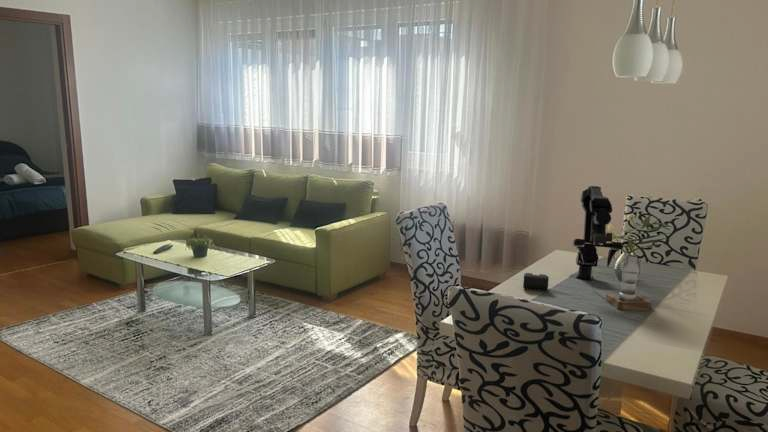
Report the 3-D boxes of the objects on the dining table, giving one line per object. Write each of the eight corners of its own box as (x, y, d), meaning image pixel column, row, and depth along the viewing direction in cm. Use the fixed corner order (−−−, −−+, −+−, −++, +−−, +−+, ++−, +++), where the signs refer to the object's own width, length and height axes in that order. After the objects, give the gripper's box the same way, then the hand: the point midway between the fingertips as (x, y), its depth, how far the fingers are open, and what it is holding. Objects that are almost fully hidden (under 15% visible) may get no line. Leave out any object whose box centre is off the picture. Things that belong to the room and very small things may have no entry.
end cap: (522, 291, 243) (524, 275, 242) (522, 286, 250) (524, 271, 249) (547, 293, 241) (548, 278, 240) (546, 288, 248) (548, 273, 247)
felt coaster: (592, 291, 246) (592, 290, 246) (618, 290, 248) (618, 289, 248) (607, 300, 235) (607, 299, 234) (634, 300, 236) (634, 299, 236)
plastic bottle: (627, 307, 227) (633, 259, 223) (613, 302, 233) (619, 254, 229) (638, 305, 230) (645, 257, 226) (624, 300, 236) (630, 253, 232)
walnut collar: (605, 300, 234) (606, 293, 234) (636, 300, 236) (636, 293, 236) (619, 310, 224) (620, 302, 224) (651, 309, 226) (652, 302, 226)
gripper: (577, 223, 232) (574, 262, 230) (626, 227, 228) (624, 267, 227) (573, 226, 243) (571, 263, 241) (620, 230, 239) (618, 267, 237)
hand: (596, 265), depth 236 cm, fingers open, 9 cm apart
